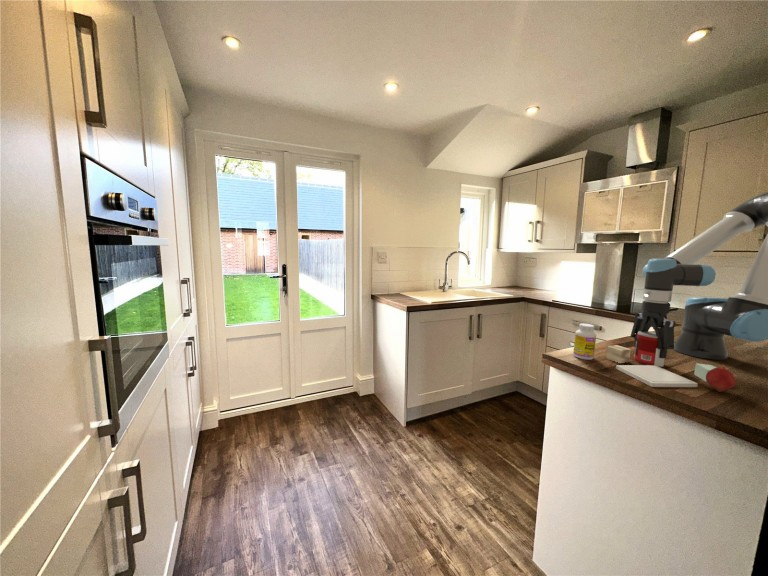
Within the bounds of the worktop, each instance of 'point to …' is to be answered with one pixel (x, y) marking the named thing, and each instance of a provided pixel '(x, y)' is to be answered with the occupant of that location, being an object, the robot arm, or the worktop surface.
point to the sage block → (702, 370)
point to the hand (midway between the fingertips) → (648, 361)
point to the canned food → (646, 347)
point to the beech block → (618, 354)
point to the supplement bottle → (585, 342)
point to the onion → (720, 379)
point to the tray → (655, 376)
